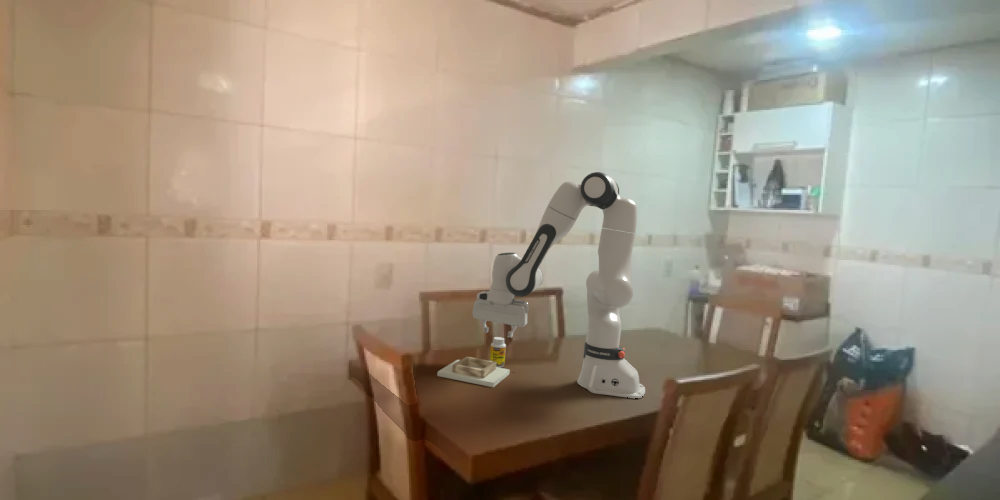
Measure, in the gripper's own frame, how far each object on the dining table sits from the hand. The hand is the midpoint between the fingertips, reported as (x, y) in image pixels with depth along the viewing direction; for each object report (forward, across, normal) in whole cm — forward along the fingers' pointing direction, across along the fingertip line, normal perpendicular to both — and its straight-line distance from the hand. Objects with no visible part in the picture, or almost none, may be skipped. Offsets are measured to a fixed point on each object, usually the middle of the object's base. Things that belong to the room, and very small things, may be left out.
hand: (497, 334), depth 194 cm
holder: (+12, +2, +14) cm, 18 cm away
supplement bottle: (+12, -1, 0) cm, 12 cm away
